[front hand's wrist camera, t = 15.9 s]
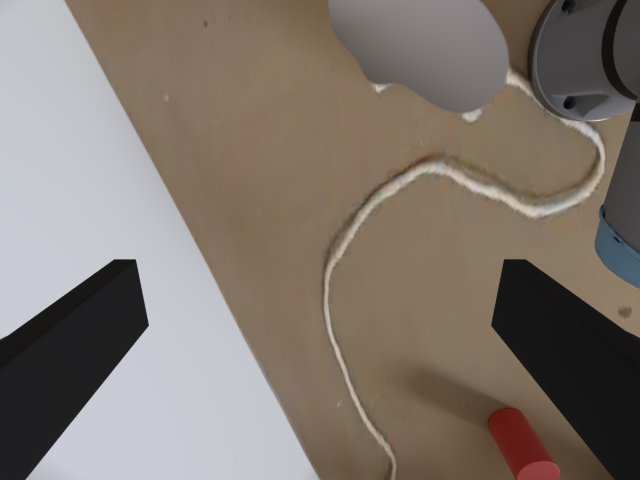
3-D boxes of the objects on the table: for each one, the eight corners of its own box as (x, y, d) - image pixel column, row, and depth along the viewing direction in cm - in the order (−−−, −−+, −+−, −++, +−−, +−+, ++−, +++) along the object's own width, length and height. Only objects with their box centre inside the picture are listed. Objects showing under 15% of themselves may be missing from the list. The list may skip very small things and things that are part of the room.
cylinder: (480, 419, 58) (509, 474, 49) (513, 402, 56) (548, 454, 48) (498, 440, 59) (529, 496, 51) (530, 424, 58) (567, 478, 49)
